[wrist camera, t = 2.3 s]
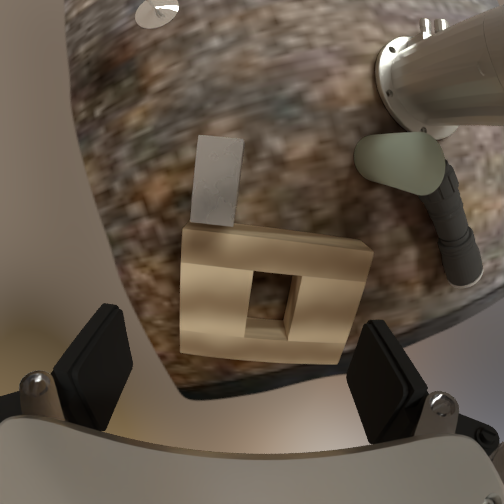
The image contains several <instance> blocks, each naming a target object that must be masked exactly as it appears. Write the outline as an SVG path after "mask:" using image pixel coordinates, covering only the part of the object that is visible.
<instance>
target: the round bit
mask: <svg viewBox="0 0 504 504" xmlns="http://www.w3.org/2000/svg"><path fill="white" fill-rule="evenodd" d="M354 163H355V166H356V168H357V170H358V172H359V173H360V174H361V175H362V176H363V177H364V178H366V179H367V180H370V181H373V182H377V183H380V184H384V185H387V186H391V187H394V188H397V189H400V190H404V191H407V192H410V193H413V194H416V195H428V194H430V193H432V192H434V191H435V190H436V189H437V188H438V187H439V186H440V184H441V182H442V180H443V177H444V174H445V157H444V154H443V151H442V148H441V146H440V145H439V143H438V142H437V141H436V140H435V139H434V138H433V137H432V136H431V135H429V134H427V133H424V132H404V133H389V134H376V135H368V136H366V137H364V138H362V139H361V140H360V141H359V142H358V144H357V145H356V148H355V151H354Z"/></svg>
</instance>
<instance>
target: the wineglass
mask: <svg viewBox="0 0 504 504" xmlns="http://www.w3.org/2000/svg"><path fill="white" fill-rule="evenodd" d="M178 8H179V4H178V1H177V0H146V1H144V2H143V3H142V4H141V5H140V6H139V8H138V9H137V11H136V15H135V19H136V22H137V24H138V25H139V26H141V27H142V28H147V29H151V28H157V27H160V26H163V25H165V24H166V23H168V22H169V21H171V20H172V19H173V18H174V17H175V15H176V14H177V12H178Z"/></svg>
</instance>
